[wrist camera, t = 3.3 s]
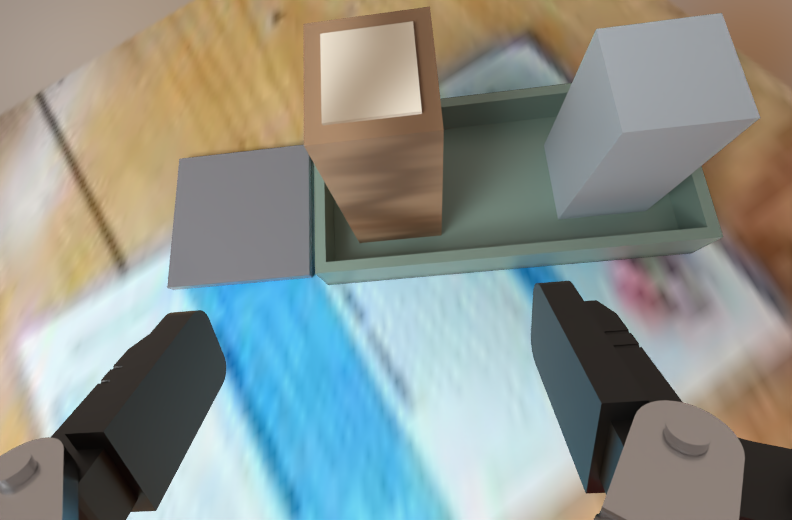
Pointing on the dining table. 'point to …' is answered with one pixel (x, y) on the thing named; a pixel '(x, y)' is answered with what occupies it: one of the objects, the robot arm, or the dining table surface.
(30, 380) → the dining table surface
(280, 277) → the slate pad
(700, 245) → the parts bin
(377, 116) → the label box
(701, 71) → the plain box
